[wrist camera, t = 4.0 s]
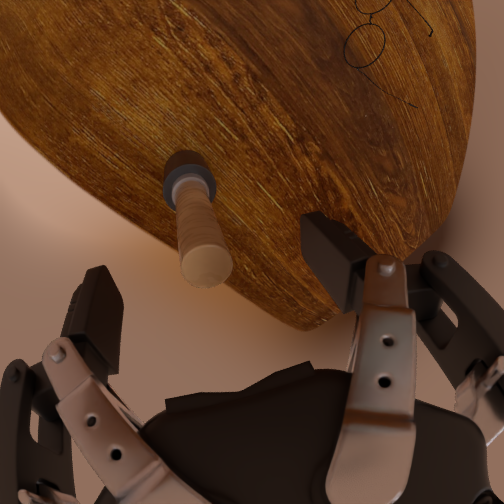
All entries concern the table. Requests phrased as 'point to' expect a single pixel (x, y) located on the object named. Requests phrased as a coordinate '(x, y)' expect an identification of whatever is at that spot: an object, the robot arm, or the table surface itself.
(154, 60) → the table surface
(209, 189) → the cylinder with wooden handle
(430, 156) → the table surface
